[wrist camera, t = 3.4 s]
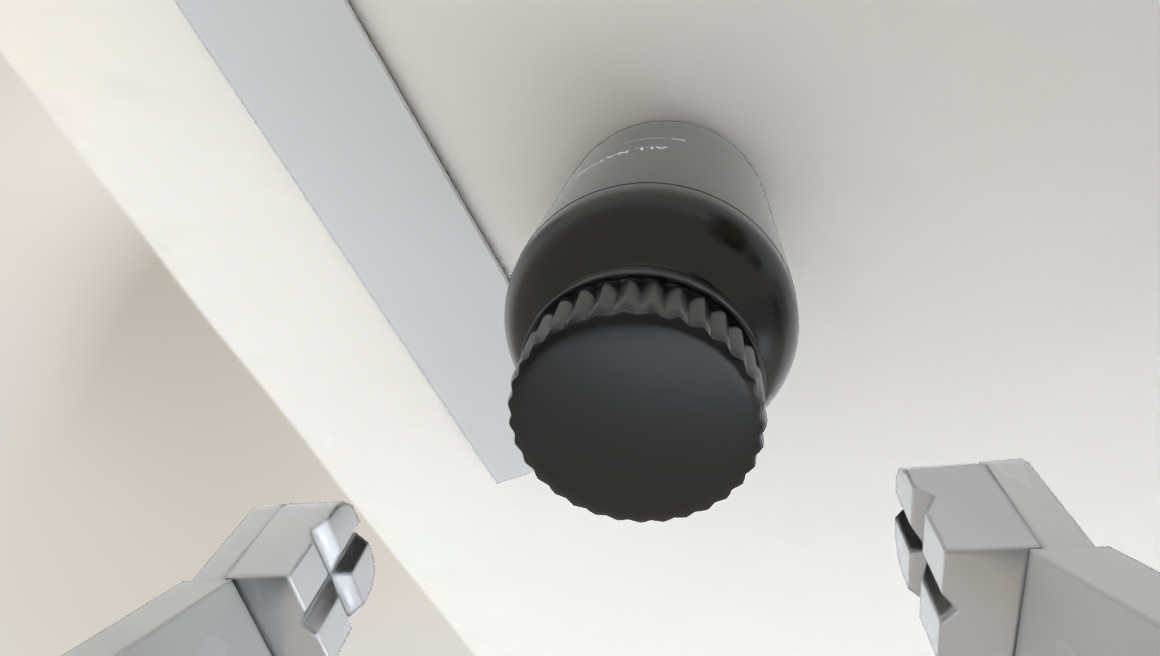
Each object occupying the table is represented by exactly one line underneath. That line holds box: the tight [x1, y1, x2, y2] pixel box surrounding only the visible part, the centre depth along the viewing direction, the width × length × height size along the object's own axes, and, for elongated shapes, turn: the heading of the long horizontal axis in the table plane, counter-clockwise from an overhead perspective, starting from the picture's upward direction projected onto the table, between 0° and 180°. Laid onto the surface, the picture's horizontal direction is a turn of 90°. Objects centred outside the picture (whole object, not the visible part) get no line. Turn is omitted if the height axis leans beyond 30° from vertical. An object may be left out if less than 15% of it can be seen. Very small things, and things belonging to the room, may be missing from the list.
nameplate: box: [174, 0, 534, 484], centre depth 24 cm, size 22×1×5 cm
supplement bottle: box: [504, 121, 799, 523], centre depth 17 cm, size 7×7×12 cm
